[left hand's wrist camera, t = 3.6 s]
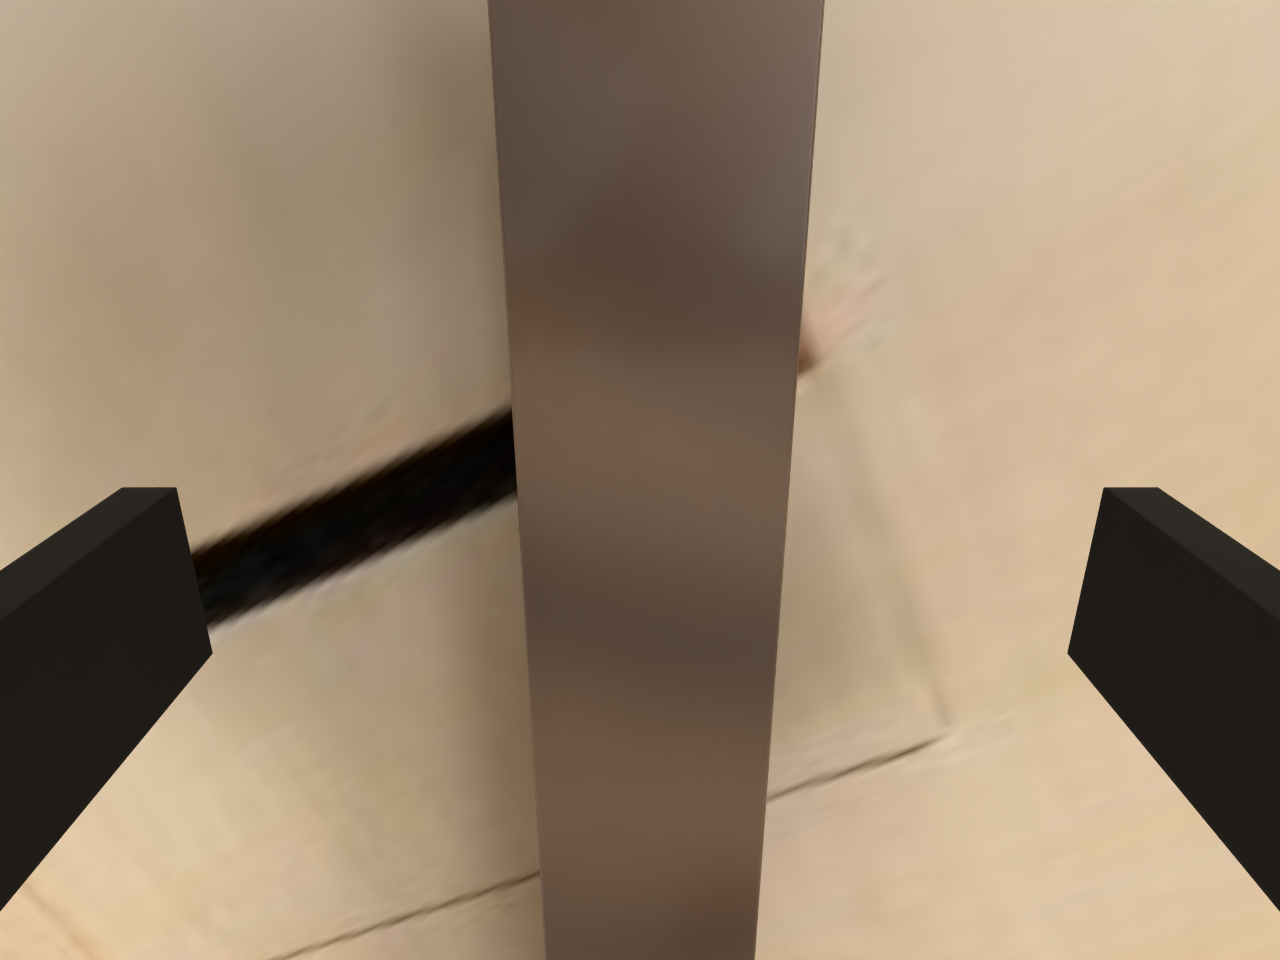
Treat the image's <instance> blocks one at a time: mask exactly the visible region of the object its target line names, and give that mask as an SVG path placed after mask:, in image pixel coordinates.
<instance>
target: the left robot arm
mask: <svg viewBox="0 0 1280 960" xmlns="http://www.w3.org/2000/svg"><path fill="white" fill-rule="evenodd" d="M212 654H213V653H212V648H211V644H210V639H209V635H208V630H207V626H206V621H205V616H204V612H203V607H202V603H201V598H200V594H199V589H198V584H197V580H196V575H195V571H194V566H193V562H192V557H191V552H190V548H189V543H188V539H187V534H186V530H185V525H184V521H183V516H182V511H181V507H180V502H179V498H178V493H177V489H176V487H122V488H121V489H119V490H118V491H116V492H115V493H113V494H112V495H110V496H109V497H107V498H106V499H105V500H103V501H102V502H100V503H99V504H97V505H96V506H94V507H93V508H91V509H90V510H88V511H87V512H85V513H84V514H83V515H81V516H80V517H78V518H77V519H75V520H74V521H72V522H71V523H69V524H68V525H66V526H65V527H63V528H62V529H61V530H59V531H58V532H56V533H55V534H53V535H52V536H50V537H49V538H47V539H46V540H44V541H43V542H41V543H40V544H39V545H37V546H36V547H34V548H33V549H31V550H30V551H28V552H27V553H25V554H24V555H22V556H21V557H20V558H18V559H17V560H15V561H14V562H12V563H11V564H9V565H8V566H6V567H5V568H3V569H2V570H0V911H1V910H2V909H3V907H4V906H5V905H6V904H7V903H8V901H9V900H10V899H11V898H12V897H13V895H14V894H15V893H16V892H17V890H18V889H19V888H20V887H21V886H22V884H23V883H24V882H25V881H26V879H27V878H28V877H29V876H30V875H31V873H32V872H33V871H34V870H35V869H36V867H37V866H38V865H39V864H40V862H41V861H42V860H43V859H44V858H45V856H46V855H47V854H48V853H49V852H50V850H51V849H52V848H53V847H54V845H55V844H56V843H57V842H58V841H59V839H60V838H61V837H62V836H63V835H64V833H65V832H66V831H67V830H68V828H69V827H70V826H71V825H72V824H73V822H74V821H75V820H76V819H77V818H78V816H79V815H80V814H81V813H82V811H83V810H84V809H85V808H86V807H87V805H88V804H89V803H90V802H91V801H92V799H93V798H94V797H95V796H96V794H97V793H98V792H99V791H100V790H101V788H102V787H103V786H104V785H105V784H106V782H107V781H108V780H109V779H110V777H111V776H112V775H113V774H114V773H115V771H116V770H117V769H118V768H119V767H120V765H121V764H122V763H123V762H124V760H125V759H126V758H127V757H128V756H129V754H130V753H131V752H132V751H133V750H134V748H135V747H136V746H137V745H138V743H139V742H140V741H141V740H142V739H143V737H144V736H145V735H146V734H147V733H148V731H149V730H150V729H151V728H152V726H153V725H154V724H155V723H156V722H157V720H158V719H159V718H160V717H161V716H162V714H163V713H164V712H165V711H166V709H167V708H168V707H169V706H170V705H171V703H172V702H173V701H174V700H175V698H176V697H177V696H178V695H179V694H180V692H181V691H182V690H183V689H184V688H185V686H186V685H187V684H188V683H189V681H190V680H191V679H192V678H193V677H194V675H195V674H196V673H197V672H198V671H199V669H200V668H201V667H202V666H203V664H204V663H205V662H206V661H207V660H208V658H209V657H210V656H211V655H212ZM1067 654H1068V655H1069V656H1070V657H1071V658H1072V660H1073V661H1074V662H1075V663H1076V664H1077V666H1078V667H1079V668H1080V669H1081V671H1082V672H1083V673H1084V674H1085V675H1086V677H1087V678H1088V679H1089V680H1090V681H1091V683H1092V684H1093V685H1094V686H1095V688H1096V689H1097V690H1098V691H1099V692H1100V694H1101V695H1102V696H1103V697H1104V698H1105V700H1106V701H1107V702H1108V703H1109V705H1110V706H1111V707H1112V708H1113V709H1114V711H1115V712H1116V713H1117V714H1118V716H1119V717H1120V718H1121V719H1122V720H1123V722H1124V723H1125V724H1126V725H1127V726H1128V728H1129V729H1130V730H1131V731H1132V733H1133V734H1134V735H1135V736H1136V737H1137V739H1138V740H1139V741H1140V742H1141V743H1142V745H1143V746H1144V747H1145V748H1146V750H1147V751H1148V752H1149V753H1150V754H1151V756H1152V757H1153V758H1154V759H1155V760H1156V762H1157V763H1158V764H1159V765H1160V767H1161V768H1162V769H1163V770H1164V771H1165V773H1166V774H1167V775H1168V776H1169V777H1170V779H1171V780H1172V781H1173V782H1174V784H1175V785H1176V786H1177V787H1178V788H1179V790H1180V791H1181V792H1182V793H1183V794H1184V796H1185V797H1186V798H1187V799H1188V801H1189V802H1190V803H1191V804H1192V805H1193V807H1194V808H1195V809H1196V810H1197V811H1198V813H1199V814H1200V815H1201V816H1202V818H1203V819H1204V820H1205V821H1206V822H1207V824H1208V825H1209V826H1210V827H1211V828H1212V830H1213V831H1214V832H1215V833H1216V835H1217V836H1218V837H1219V838H1220V839H1221V841H1222V842H1223V843H1224V844H1225V845H1226V847H1227V848H1228V849H1229V850H1230V852H1231V853H1232V854H1233V855H1234V856H1235V858H1236V859H1237V860H1238V861H1239V862H1240V864H1241V865H1242V866H1243V867H1244V869H1245V870H1246V871H1247V872H1248V873H1249V875H1250V876H1251V877H1252V878H1253V879H1254V881H1255V882H1256V883H1257V884H1258V886H1259V887H1260V888H1261V889H1262V890H1263V892H1264V893H1265V894H1266V895H1267V897H1268V898H1269V899H1270V900H1271V901H1272V903H1273V904H1274V905H1275V906H1276V907H1277V909H1278V910H1279V911H1280V570H1278V569H1277V568H1275V567H1274V566H1272V565H1271V564H1269V563H1268V562H1266V561H1265V560H1263V559H1262V558H1260V557H1259V556H1258V555H1256V554H1255V553H1253V552H1252V551H1250V550H1249V549H1247V548H1246V547H1244V546H1243V545H1241V544H1240V543H1238V542H1237V541H1236V540H1234V539H1233V538H1231V537H1230V536H1228V535H1227V534H1225V533H1224V532H1222V531H1221V530H1219V529H1218V528H1217V527H1215V526H1214V525H1212V524H1211V523H1209V522H1208V521H1206V520H1205V519H1203V518H1202V517H1200V516H1199V515H1197V514H1196V513H1195V512H1193V511H1192V510H1190V509H1189V508H1187V507H1186V506H1184V505H1183V504H1181V503H1180V502H1178V501H1177V500H1175V499H1174V498H1173V497H1171V496H1170V495H1168V494H1167V493H1165V492H1164V491H1162V490H1161V489H1159V488H1158V487H1104V489H1103V493H1102V498H1101V502H1100V507H1099V511H1098V516H1097V521H1096V525H1095V530H1094V534H1093V539H1092V543H1091V548H1090V552H1089V557H1088V562H1087V566H1086V571H1085V575H1084V580H1083V584H1082V589H1081V594H1080V598H1079V603H1078V607H1077V612H1076V616H1075V621H1074V626H1073V630H1072V635H1071V639H1070V644H1069V648H1068V653H1067Z"/></svg>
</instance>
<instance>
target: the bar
mask: <svg viewBox="0 0 1280 960" xmlns="http://www.w3.org/2000/svg"><path fill="white" fill-rule="evenodd" d="M824 2H825V0H488V13H489V30H490V46H491V63H492V79H493V96H494V113H495V129H496V146H497V162H498V179H499V196H500V212H501V229H502V246H503V262H504V279H505V295H506V312H507V329H508V345H509V362H510V379H511V395H512V412H513V428H514V445H515V462H516V478H517V495H518V512H519V528H520V545H521V561H522V578H523V595H524V611H525V628H526V644H527V661H528V678H529V694H530V711H531V728H532V744H533V761H534V777H535V794H536V811H537V827H538V844H539V861H540V877H541V894H542V910H543V927H544V944H545V960H755V948H756V934H757V920H758V907H759V893H760V879H761V866H762V852H763V838H764V824H765V811H766V797H767V783H768V770H769V756H770V742H771V729H772V715H773V701H774V687H775V674H776V660H777V646H778V633H779V619H780V605H781V591H782V578H783V564H784V550H785V537H786V523H787V509H788V496H789V482H790V468H791V454H792V441H793V427H794V413H795V400H796V386H797V372H798V358H799V345H800V331H801V317H802V304H803V290H804V276H805V262H806V249H807V235H808V221H809V208H810V194H811V180H812V167H813V153H814V139H815V125H816V112H817V98H818V84H819V71H820V57H821V43H822V29H823V16H824Z"/></svg>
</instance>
